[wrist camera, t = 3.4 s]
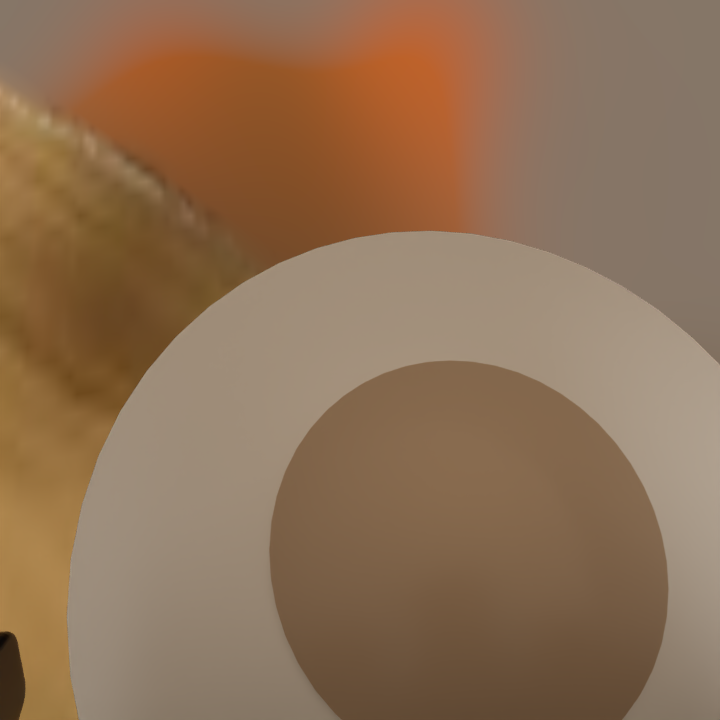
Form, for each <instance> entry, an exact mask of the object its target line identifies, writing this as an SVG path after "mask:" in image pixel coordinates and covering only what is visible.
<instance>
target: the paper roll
mask: <svg viewBox="0 0 720 720" xmlns="http://www.w3.org/2000/svg"><path fill="white" fill-rule="evenodd" d="M67 626H68V643H69V660H70V676H71V681H72V687H73V692H74V697H75V702H76V707H77V713H78V718H79V720H720V365H719V363H717V362H716V361H715V360H714V359H713V358H712V357H711V356H710V355H709V354H708V353H707V352H706V351H705V350H704V349H703V348H702V347H701V346H700V345H699V344H698V343H697V342H696V341H695V340H694V339H693V338H692V337H691V336H690V335H689V334H687V333H686V332H685V331H684V330H682V329H681V328H680V327H679V326H678V325H676V324H675V323H674V322H673V321H671V320H670V319H669V318H668V317H667V316H665V315H664V314H663V313H662V312H660V311H659V310H658V309H656V308H655V307H653V306H651V305H650V304H649V303H647V302H646V301H644V300H643V299H641V298H640V297H638V296H637V295H635V294H634V293H632V292H631V291H629V290H628V289H626V288H625V287H623V286H621V285H619V284H618V283H616V282H614V281H612V280H610V279H608V278H606V277H604V276H602V275H600V274H599V273H597V272H595V271H593V270H591V269H589V268H587V267H585V266H582V265H580V264H578V263H575V262H572V261H570V260H568V259H565V258H563V257H560V256H558V255H555V254H553V253H550V252H548V251H544V250H541V249H537V248H534V247H530V246H527V245H524V244H520V243H517V242H513V241H509V240H504V239H498V238H493V237H487V236H482V235H476V234H470V233H456V232H442V231H414V232H392V233H385V234H378V235H371V236H365V237H358V238H353V239H349V240H345V241H342V242H338V243H334V244H331V245H327V246H323V247H319V248H316V249H313V250H311V251H308V252H306V253H303V254H301V255H298V256H296V257H293V258H291V259H288V260H285V261H283V262H280V263H278V264H276V265H274V266H273V267H271V268H269V269H267V270H265V271H263V272H262V273H260V274H258V275H256V276H254V277H252V278H251V279H249V280H247V281H245V282H243V283H242V284H240V285H239V286H237V287H236V288H235V289H233V290H232V291H230V292H229V293H228V294H226V295H225V296H223V297H222V298H221V299H219V300H218V301H216V302H215V303H213V304H212V305H211V306H209V307H208V308H207V309H206V310H205V311H204V312H202V313H201V314H200V315H199V316H198V317H197V318H196V319H195V320H194V321H193V322H192V323H190V324H189V325H188V326H187V327H186V328H185V329H184V330H183V331H182V332H181V333H179V334H178V335H177V336H176V337H175V338H174V340H173V341H172V342H171V343H170V344H169V345H168V347H167V348H166V349H165V350H164V351H163V352H162V354H161V355H160V356H159V357H158V358H157V360H156V361H155V362H154V363H153V364H152V365H151V367H150V368H149V369H148V370H147V371H146V373H145V374H144V376H143V377H142V379H141V380H140V382H139V383H138V385H137V386H136V388H135V390H134V391H133V393H132V394H131V396H130V397H129V399H128V400H127V402H126V403H125V405H124V406H123V408H122V409H121V411H120V413H119V415H118V417H117V419H116V421H115V423H114V425H113V427H112V429H111V431H110V433H109V435H108V437H107V439H106V441H105V444H104V446H103V448H102V450H101V452H100V454H99V456H98V459H97V462H96V465H95V468H94V471H93V474H92V477H91V479H90V482H89V485H88V488H87V491H86V494H85V497H84V500H83V503H82V507H81V512H80V517H79V521H78V526H77V531H76V536H75V541H74V546H73V551H72V556H71V565H70V579H69V593H68V607H67Z"/></svg>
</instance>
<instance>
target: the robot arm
mask: <svg viewBox="0 0 720 720" xmlns="http://www.w3.org/2000/svg"><path fill="white" fill-rule="evenodd" d="M24 698H25V678H24V673H23V668H22V663H21V658H20V652H19V647H18V642H17V639H16V637H15V635H14V634H13V633H11V632H7V631H6V632H0V720H19V717H20V714H21V710H22V707H23V703H24Z"/></svg>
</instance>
